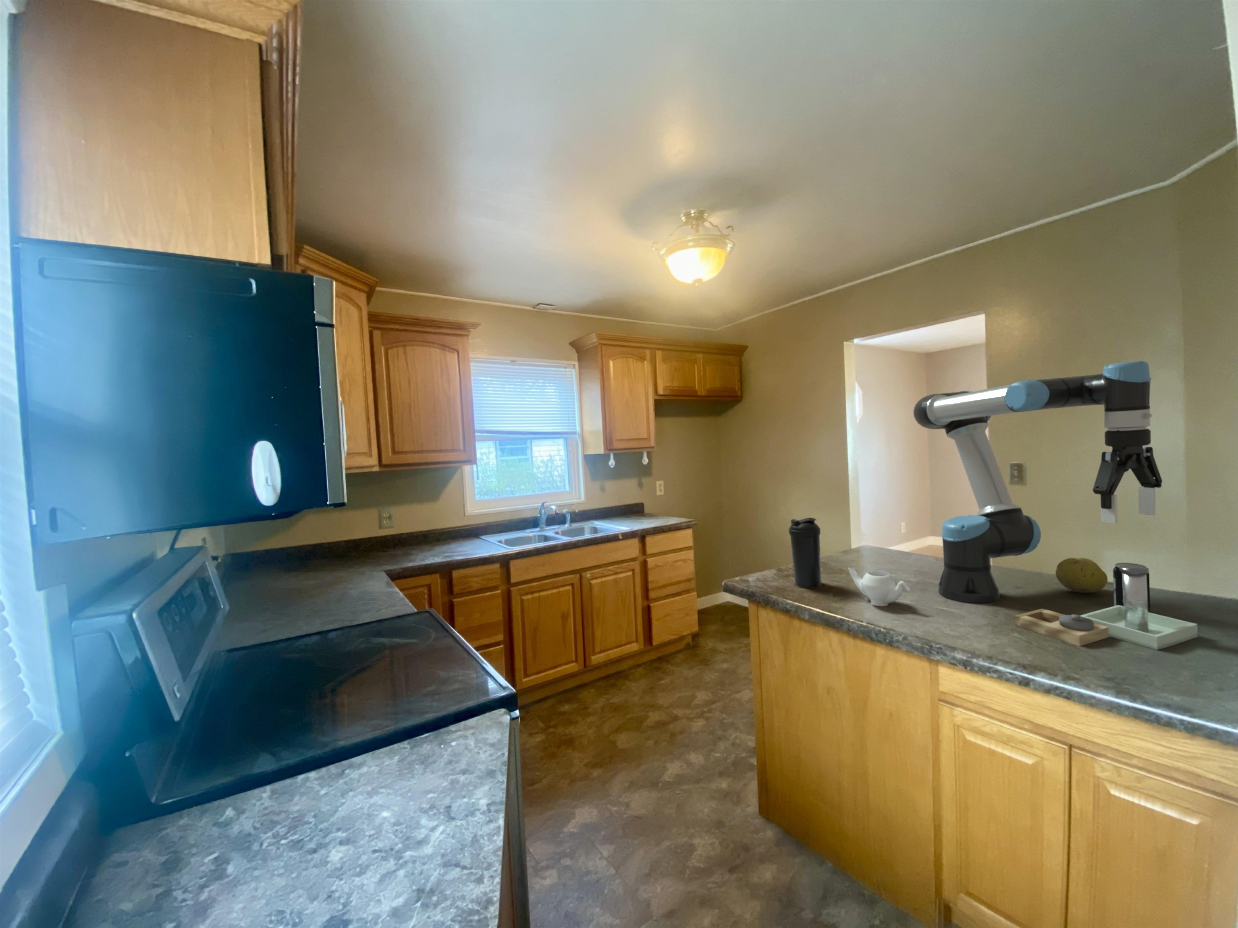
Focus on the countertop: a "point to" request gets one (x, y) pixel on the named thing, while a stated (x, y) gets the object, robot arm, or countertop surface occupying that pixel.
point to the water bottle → (806, 552)
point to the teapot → (878, 586)
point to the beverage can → (1119, 585)
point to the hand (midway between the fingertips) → (1128, 518)
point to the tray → (1158, 637)
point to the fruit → (1081, 575)
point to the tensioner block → (1062, 626)
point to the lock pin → (1135, 597)
